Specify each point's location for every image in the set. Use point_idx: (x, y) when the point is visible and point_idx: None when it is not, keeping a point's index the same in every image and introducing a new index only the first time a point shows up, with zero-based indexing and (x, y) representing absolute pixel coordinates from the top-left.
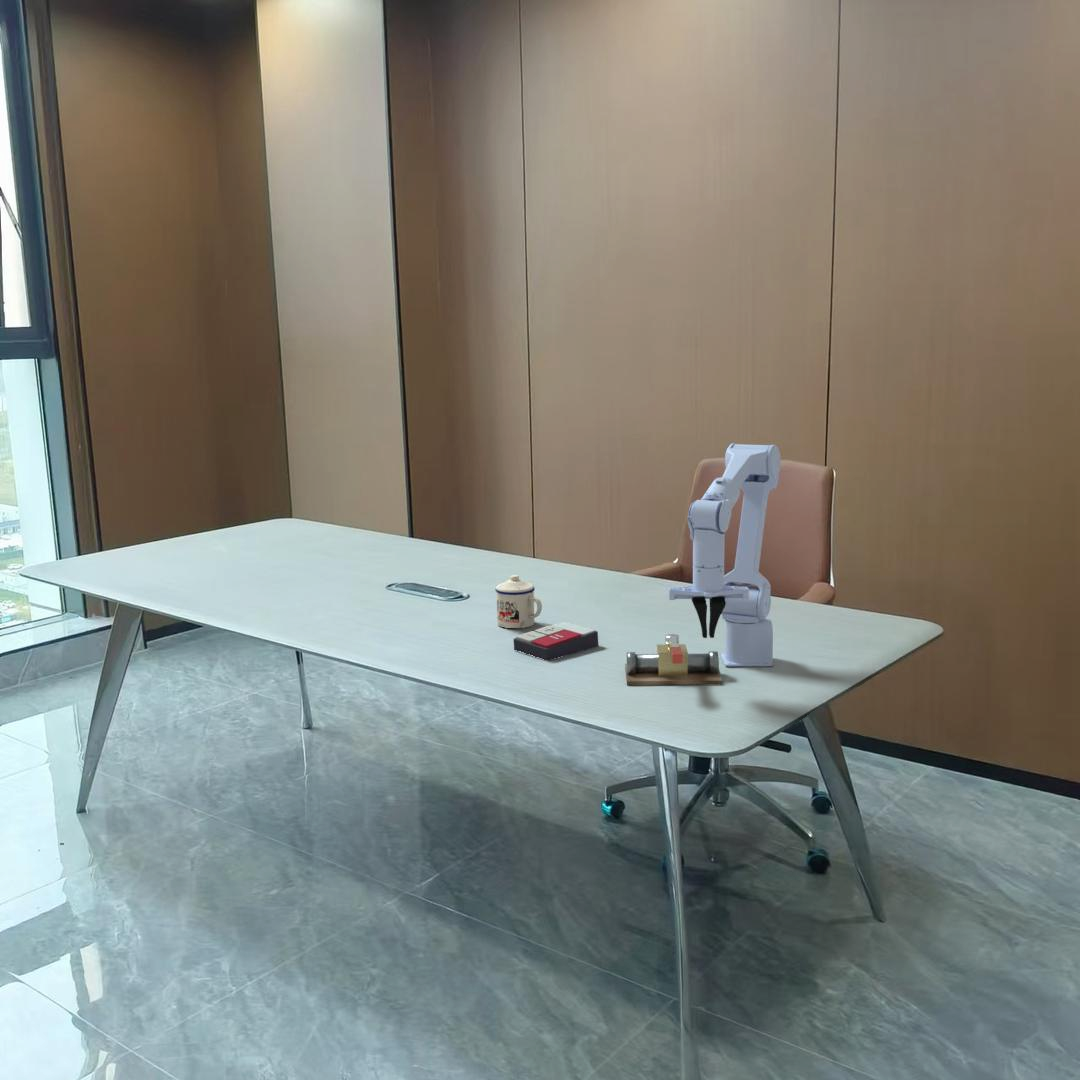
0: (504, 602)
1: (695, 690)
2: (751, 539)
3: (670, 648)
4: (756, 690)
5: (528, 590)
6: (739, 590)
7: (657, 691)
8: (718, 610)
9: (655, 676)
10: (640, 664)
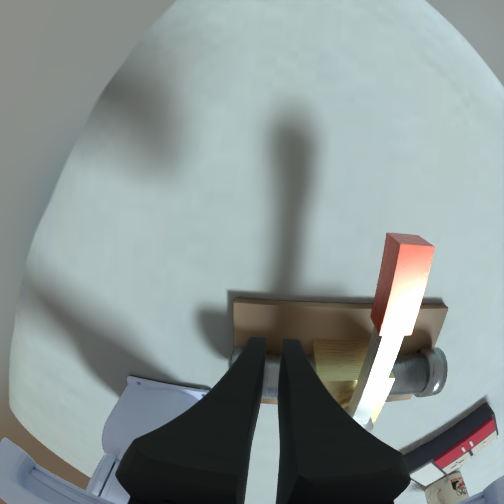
0: (466, 493)
1: (308, 262)
2: None
3: None
4: (157, 250)
5: None
6: (10, 499)
7: None
8: (192, 433)
9: None
10: (419, 360)
